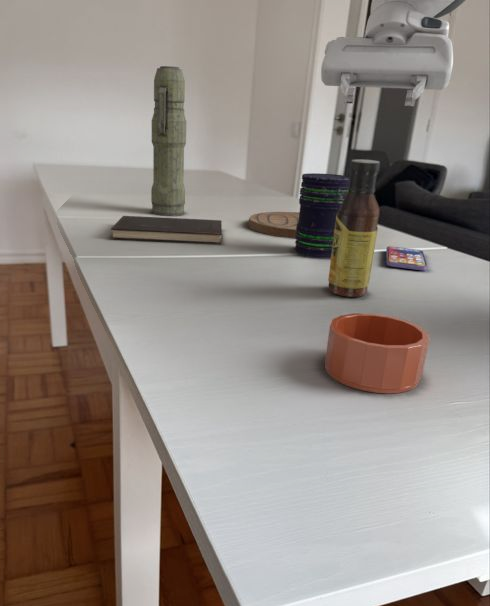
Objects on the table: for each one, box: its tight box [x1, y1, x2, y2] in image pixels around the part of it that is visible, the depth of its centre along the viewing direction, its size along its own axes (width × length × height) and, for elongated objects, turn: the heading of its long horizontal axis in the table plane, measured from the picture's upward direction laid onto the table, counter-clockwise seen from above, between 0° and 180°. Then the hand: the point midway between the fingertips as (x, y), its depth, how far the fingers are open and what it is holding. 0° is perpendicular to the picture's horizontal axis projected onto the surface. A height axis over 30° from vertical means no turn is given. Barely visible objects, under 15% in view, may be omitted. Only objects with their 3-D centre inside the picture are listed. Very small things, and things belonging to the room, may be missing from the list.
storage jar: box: [294, 172, 350, 260], centre depth 109 cm, size 10×10×15 cm
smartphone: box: [385, 245, 428, 271], centre depth 108 cm, size 1×7×15 cm
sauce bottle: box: [327, 159, 381, 298], centre depth 82 cm, size 6×6×20 cm
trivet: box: [248, 211, 300, 239], centre depth 135 cm, size 25×25×2 cm
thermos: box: [150, 65, 187, 217], centre depth 141 cm, size 9×12×35 cm
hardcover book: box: [110, 215, 223, 245], centre depth 121 cm, size 16×23×2 cm
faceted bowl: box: [324, 312, 430, 394], centre depth 59 cm, size 10×10×5 cm
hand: (378, 101), depth 86 cm, fingers open, 8 cm apart
